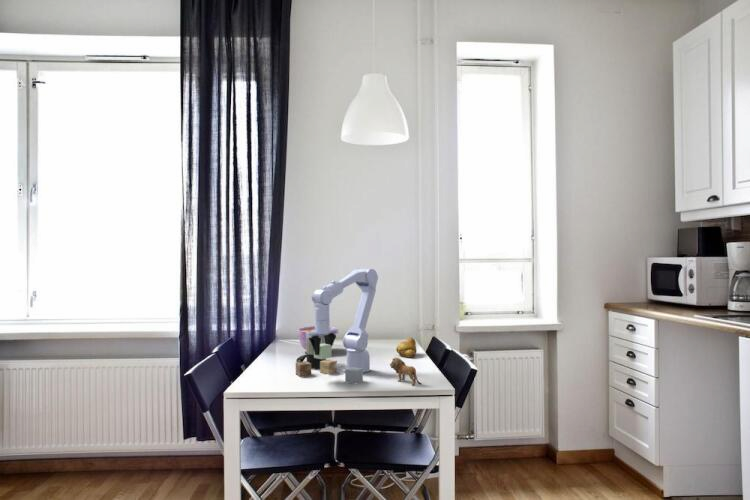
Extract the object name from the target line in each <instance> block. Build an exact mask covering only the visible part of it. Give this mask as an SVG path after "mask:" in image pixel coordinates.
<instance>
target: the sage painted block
mask: <svg viewBox="0 0 750 500" xmlns="http://www.w3.org/2000/svg"><path fill="white" fill-rule="evenodd" d="M332 352H333V351H332V348H331V345H329V344H324V343H323V344H320V353H319V355H315V353H314V358H318V359H326V360H327V359H331V358H332V355H333V354H332Z"/></svg>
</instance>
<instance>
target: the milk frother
mask: <svg viewBox="0 0 750 500" xmlns="http://www.w3.org/2000/svg"><path fill="white" fill-rule="evenodd" d="M318 337H319V338H321V341H320V344H323V343H324V344H325V338H324V335H323V336H318ZM305 351H306V354H303V355H301V356H299V357H297V358H296V361H295V363H297V362H306V361H307V362H309V363H311V370H313V369H314V370H320V361H323V360H327V359H318V358H314V349H313V346H312V344H311V342H310V340H309V338H307V337H306V350H305ZM305 359H306V361H305Z"/></svg>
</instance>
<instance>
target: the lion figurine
mask: <svg viewBox="0 0 750 500" xmlns="http://www.w3.org/2000/svg"><path fill="white" fill-rule="evenodd" d="M391 360H392V361H391V362H390V363H389V366H390V368H391V369H392V370H394V371H395V372H396V374H397V375H398V376H397V377H398V378H399V379H397V382H398V383H401V382H402V381H405V380H406V379H405V377H406V376H408V377H409V379H410V380H411V382H412V384H411V386H412V387H414V386H416V383H417V384H418V385H422V382H420V381H419V380H418V377H417V371H416V370H417V369H416V368H415V367H414V366H412V365H411V366H409V365H406V363H405V362H404V361H403V360H402V359H401V358H398V357H393V358H392V359H391Z"/></svg>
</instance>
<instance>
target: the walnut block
mask: <svg viewBox="0 0 750 500" xmlns="http://www.w3.org/2000/svg"><path fill="white" fill-rule="evenodd" d="M295 375H296V376H297V377H298V378H302V377H303V378H304V377H309V376H310V377H311V376H312V369H311V363H309V362H307V360H306V362H305V361H303V362H295Z"/></svg>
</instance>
